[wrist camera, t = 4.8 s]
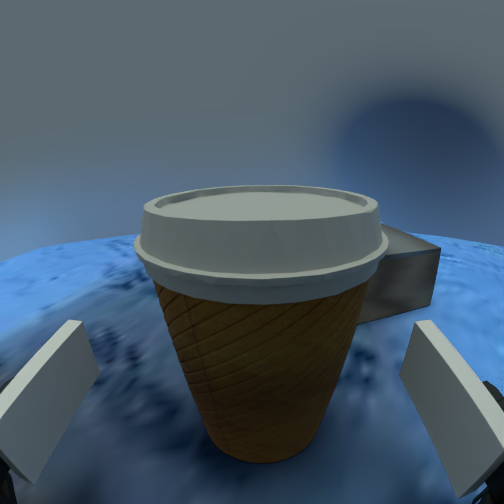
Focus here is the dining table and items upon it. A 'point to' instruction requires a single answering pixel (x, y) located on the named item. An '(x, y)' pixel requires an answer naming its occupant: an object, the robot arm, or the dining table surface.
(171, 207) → the disposable coffee cup
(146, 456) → the dining table surface
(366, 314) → the block
